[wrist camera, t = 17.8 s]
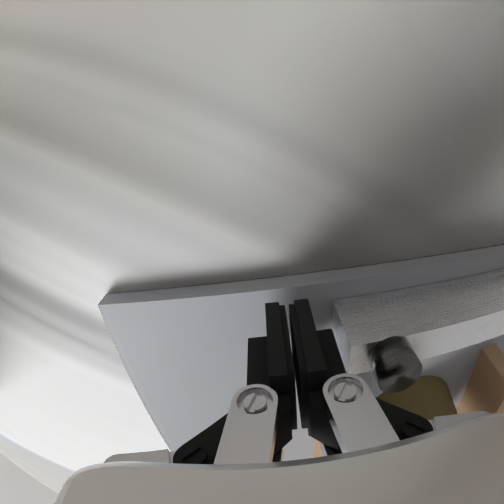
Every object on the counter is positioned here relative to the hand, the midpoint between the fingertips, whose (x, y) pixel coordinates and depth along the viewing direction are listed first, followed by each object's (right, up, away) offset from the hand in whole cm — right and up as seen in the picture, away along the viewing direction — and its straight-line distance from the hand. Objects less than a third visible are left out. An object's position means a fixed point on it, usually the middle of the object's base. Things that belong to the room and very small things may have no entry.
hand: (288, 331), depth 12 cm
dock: (+5, -5, +4) cm, 8 cm away
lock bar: (+7, +1, 0) cm, 7 cm away
